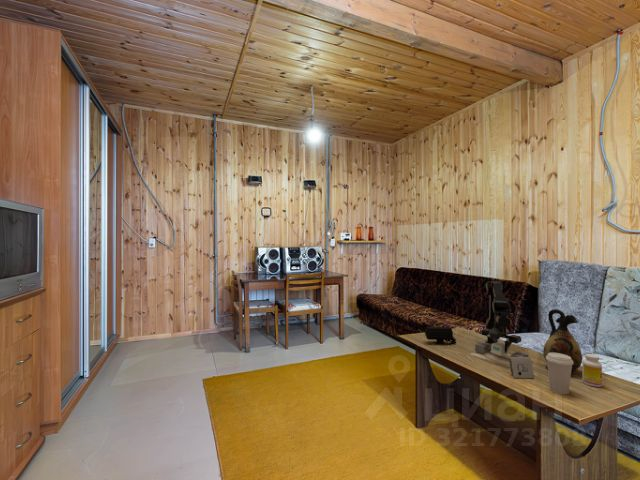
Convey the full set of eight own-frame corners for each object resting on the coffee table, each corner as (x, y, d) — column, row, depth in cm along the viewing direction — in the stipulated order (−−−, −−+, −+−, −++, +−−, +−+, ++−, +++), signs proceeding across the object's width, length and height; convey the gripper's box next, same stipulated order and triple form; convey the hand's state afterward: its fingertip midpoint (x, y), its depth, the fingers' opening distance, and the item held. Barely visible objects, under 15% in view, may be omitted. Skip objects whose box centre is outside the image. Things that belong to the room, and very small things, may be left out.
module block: (500, 350, 173) (500, 341, 173) (509, 353, 169) (509, 344, 169) (491, 352, 169) (491, 343, 169) (500, 355, 165) (500, 346, 165)
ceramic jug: (588, 373, 152) (588, 312, 152) (574, 379, 144) (574, 315, 144) (548, 361, 166) (548, 305, 167) (533, 367, 158) (534, 308, 159)
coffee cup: (543, 390, 133) (543, 355, 133) (547, 383, 140) (547, 350, 140) (571, 398, 126) (571, 361, 126) (574, 390, 133) (575, 355, 133)
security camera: (457, 345, 191) (457, 329, 191) (427, 345, 191) (427, 329, 191) (453, 342, 198) (453, 326, 198) (424, 341, 198) (424, 326, 198)
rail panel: (486, 349, 184) (486, 340, 184) (532, 362, 164) (532, 352, 164) (470, 355, 174) (470, 345, 174) (516, 370, 154) (517, 359, 154)
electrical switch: (514, 378, 145) (513, 358, 146) (507, 375, 150) (506, 355, 151) (534, 379, 145) (533, 358, 146) (527, 375, 150) (526, 355, 151)
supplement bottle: (603, 389, 135) (603, 359, 135) (583, 385, 138) (583, 356, 139) (599, 383, 141) (599, 354, 141) (581, 379, 144) (581, 352, 144)
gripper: (476, 321, 172) (475, 349, 172) (512, 329, 157) (512, 359, 157) (486, 318, 179) (486, 345, 179) (521, 325, 163) (521, 355, 163)
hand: (500, 351), depth 169 cm, fingers closed on module block, 5 cm apart
